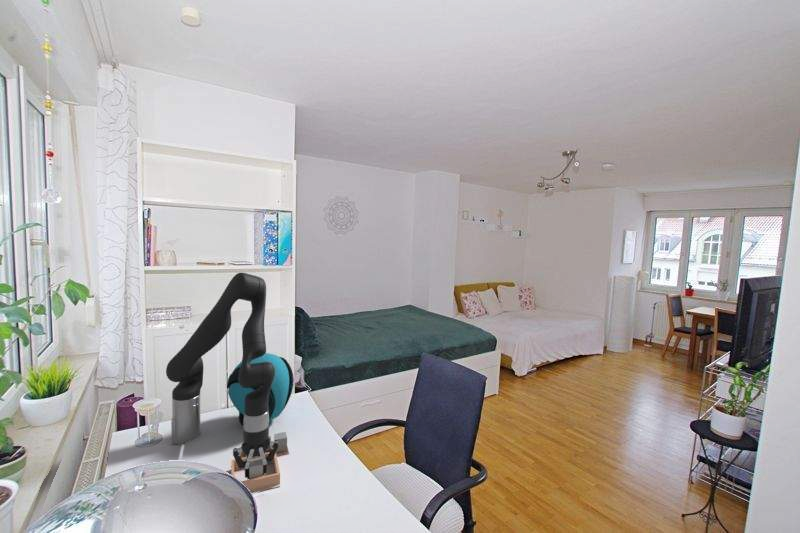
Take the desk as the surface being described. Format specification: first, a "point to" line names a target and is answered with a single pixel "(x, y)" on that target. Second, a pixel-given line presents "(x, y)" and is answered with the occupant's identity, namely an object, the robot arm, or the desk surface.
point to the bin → (260, 481)
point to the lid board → (269, 451)
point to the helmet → (278, 390)
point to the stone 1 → (256, 468)
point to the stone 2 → (281, 441)
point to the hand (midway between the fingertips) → (255, 475)
